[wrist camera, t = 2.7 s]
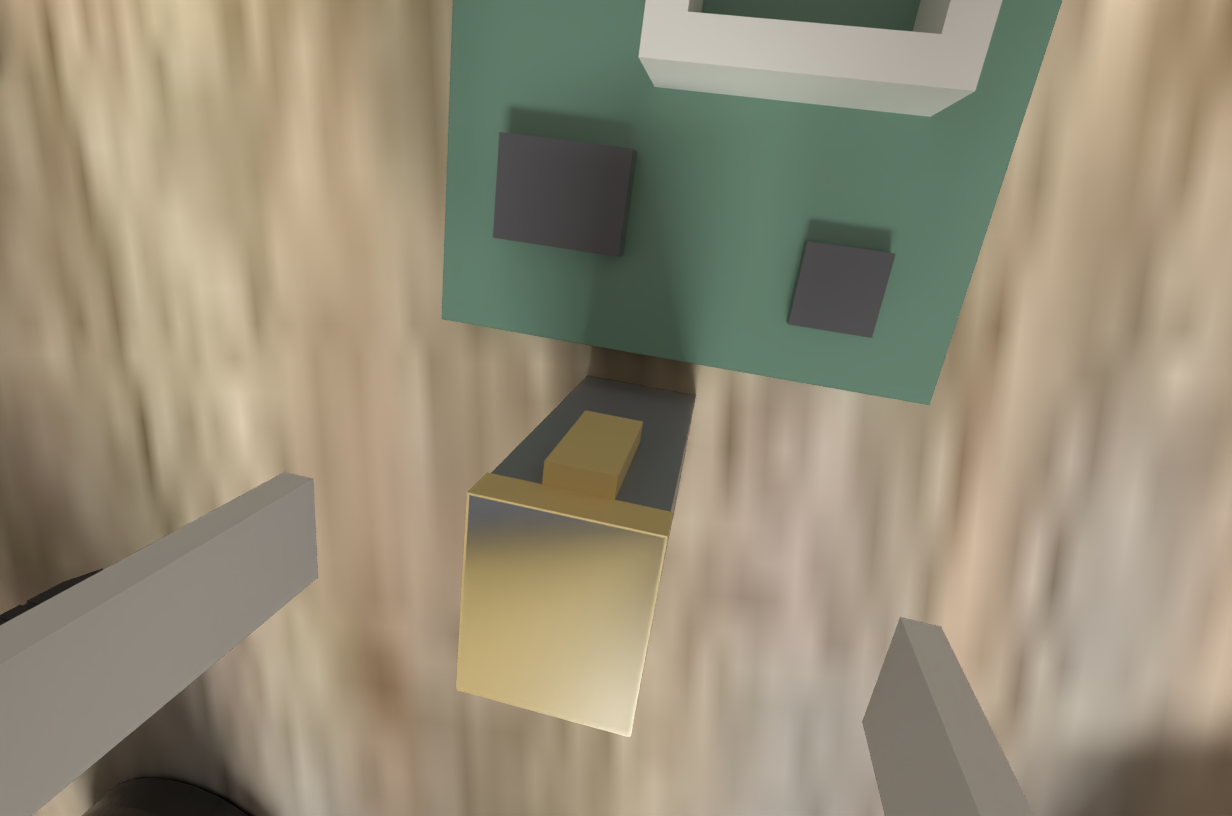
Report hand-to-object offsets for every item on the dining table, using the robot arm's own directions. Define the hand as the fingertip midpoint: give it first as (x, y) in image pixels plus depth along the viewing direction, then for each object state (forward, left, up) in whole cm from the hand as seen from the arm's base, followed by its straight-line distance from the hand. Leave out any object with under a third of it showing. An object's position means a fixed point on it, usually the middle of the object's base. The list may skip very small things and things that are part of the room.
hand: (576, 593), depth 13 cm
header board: (+1, +13, -9) cm, 16 cm away
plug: (0, 0, -9) cm, 9 cm away
